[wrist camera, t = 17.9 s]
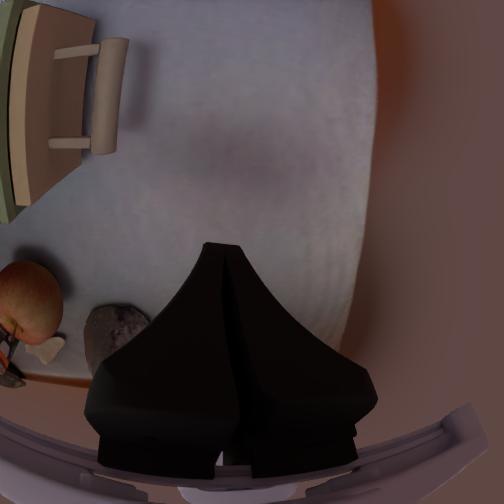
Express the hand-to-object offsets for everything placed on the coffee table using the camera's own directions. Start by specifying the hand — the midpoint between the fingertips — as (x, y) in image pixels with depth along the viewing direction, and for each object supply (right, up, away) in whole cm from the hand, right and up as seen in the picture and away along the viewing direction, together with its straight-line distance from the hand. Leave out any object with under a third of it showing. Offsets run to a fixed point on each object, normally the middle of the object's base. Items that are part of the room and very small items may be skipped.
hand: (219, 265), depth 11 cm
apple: (-20, -2, +12) cm, 23 cm away
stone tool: (-30, -15, +18) cm, 38 cm away
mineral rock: (-12, -10, +18) cm, 24 cm away
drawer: (-14, +11, +2) cm, 18 cm away
